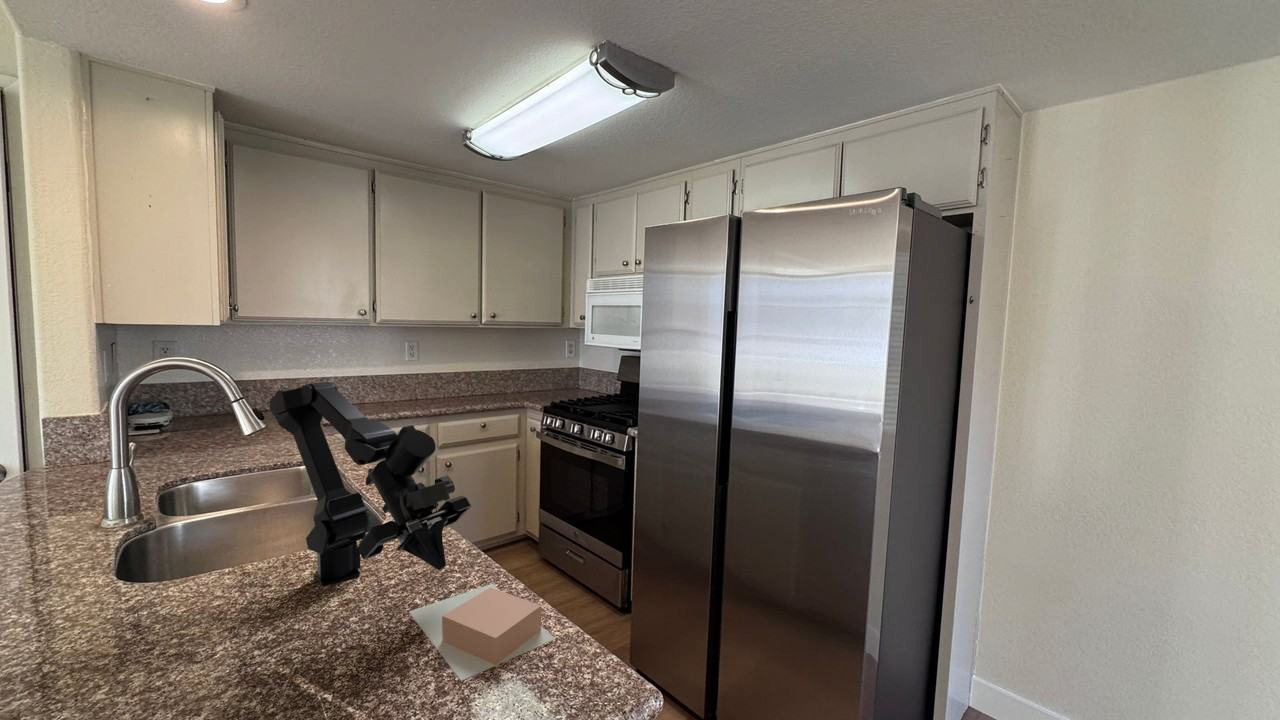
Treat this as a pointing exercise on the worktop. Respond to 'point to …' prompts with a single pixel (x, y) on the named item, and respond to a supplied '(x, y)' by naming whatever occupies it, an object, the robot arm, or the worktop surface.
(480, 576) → the worktop surface
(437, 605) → the rubber mat
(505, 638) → the terracotta slab
